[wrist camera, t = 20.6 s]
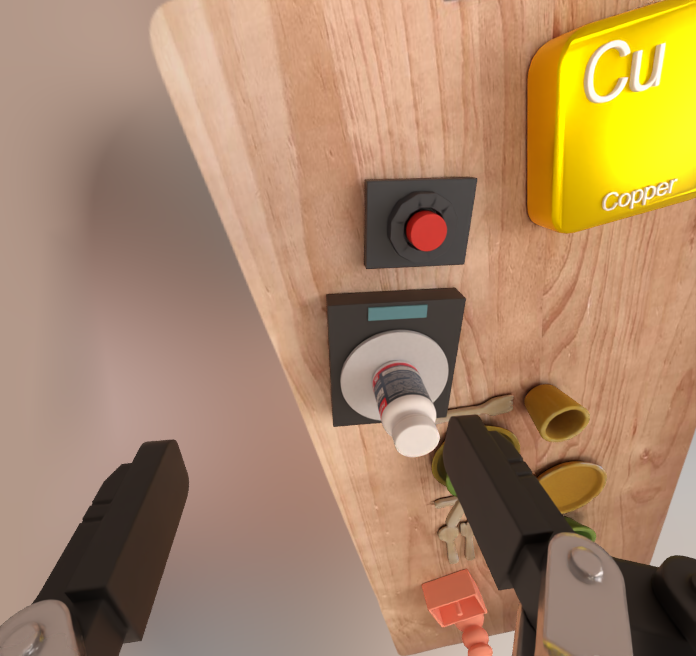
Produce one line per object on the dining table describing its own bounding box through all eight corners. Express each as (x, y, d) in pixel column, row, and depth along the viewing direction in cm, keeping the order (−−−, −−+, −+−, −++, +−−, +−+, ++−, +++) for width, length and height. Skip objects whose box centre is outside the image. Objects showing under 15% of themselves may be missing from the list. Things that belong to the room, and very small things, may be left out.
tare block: (364, 264, 35) (368, 274, 32) (364, 179, 31) (369, 182, 28) (459, 260, 35) (471, 269, 33) (471, 176, 32) (485, 179, 29)
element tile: (525, 229, 35) (555, 241, 30) (525, 47, 27) (564, 29, 23) (672, 187, 34) (723, 194, 30) (712, -11, 27) (787, -39, 23)
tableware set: (418, 406, 45) (433, 443, 39) (626, 357, 44) (672, 387, 39) (442, 566, 64) (455, 606, 59) (586, 533, 64) (612, 570, 58)
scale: (331, 409, 43) (333, 432, 40) (326, 294, 36) (328, 309, 32) (438, 401, 44) (448, 422, 41) (455, 287, 37) (469, 301, 34)
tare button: (404, 246, 31) (409, 252, 30) (406, 210, 30) (412, 214, 28) (438, 245, 32) (444, 250, 30) (442, 209, 30) (449, 213, 29)
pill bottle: (367, 365, 36) (383, 426, 28) (415, 354, 36) (444, 412, 28) (375, 402, 39) (392, 467, 31) (420, 392, 38) (448, 454, 31)
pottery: (421, 584, 67) (438, 649, 58) (466, 568, 66) (490, 632, 57) (447, 618, 75) (465, 679, 67) (488, 604, 74) (511, 665, 66)
